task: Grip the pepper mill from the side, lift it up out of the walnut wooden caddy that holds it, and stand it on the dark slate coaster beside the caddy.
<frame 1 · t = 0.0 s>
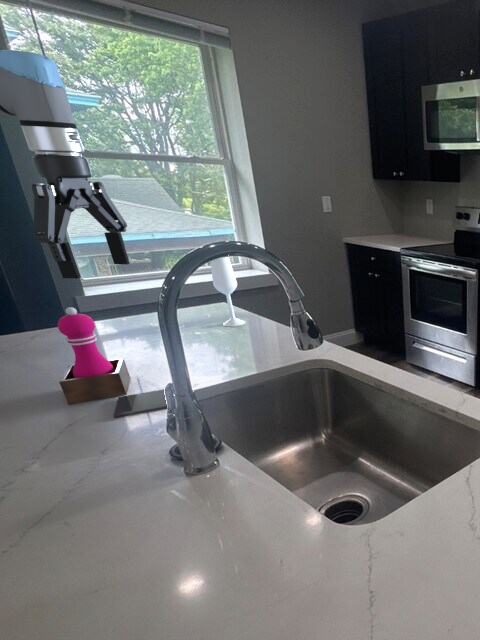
hand: (98, 270, 95), 29 cm above the worktop, tool pointing down, fingers open, 13 cm apart
pepper mill: (101, 391, 109), resting in mill caddy
champagne flute: (234, 323, 156), on the worktop
slate coaster: (145, 403, 104), on the worktop
mill caddy: (101, 390, 109), on the worktop
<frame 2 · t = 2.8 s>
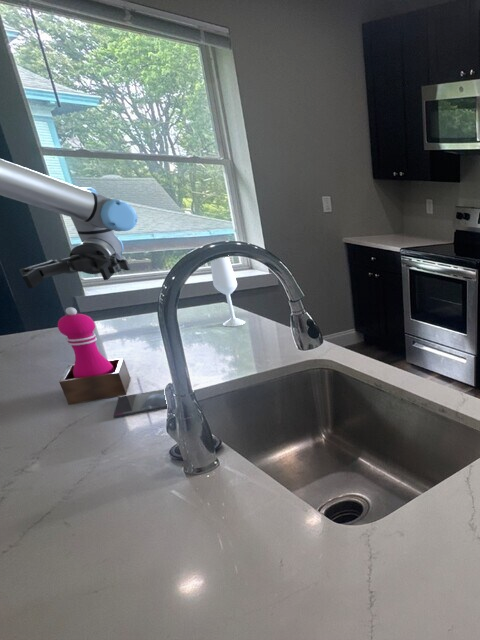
hand: (66, 278, 105), 24 cm above the worktop, tool horizontal, fingers open, 13 cm apart
nothing on the worktop moved.
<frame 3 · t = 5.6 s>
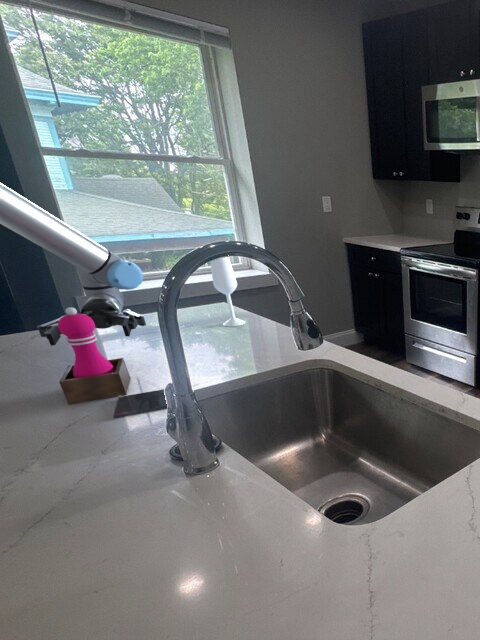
hand: (89, 335, 109), 11 cm above the worktop, tool horizontal, fingers open, 13 cm apart
nothing on the worktop moved.
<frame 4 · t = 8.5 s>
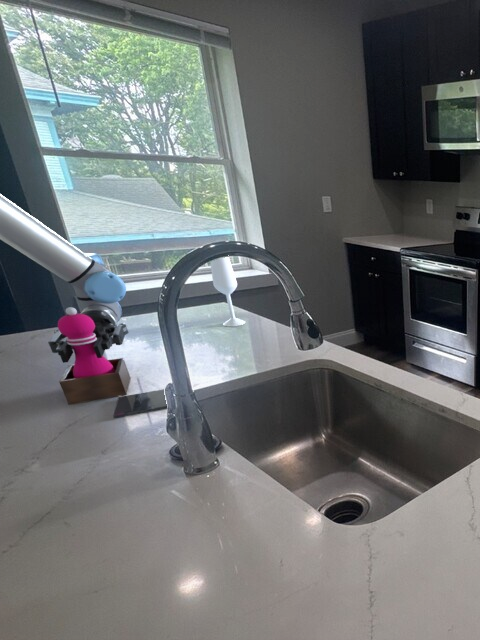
hand: (80, 354, 100), 11 cm above the worktop, tool horizontal, fingers closed on pepper mill, 5 cm apart
pepper mill: (101, 391, 109), resting in mill caddy, touching gripper
everything else where it was.
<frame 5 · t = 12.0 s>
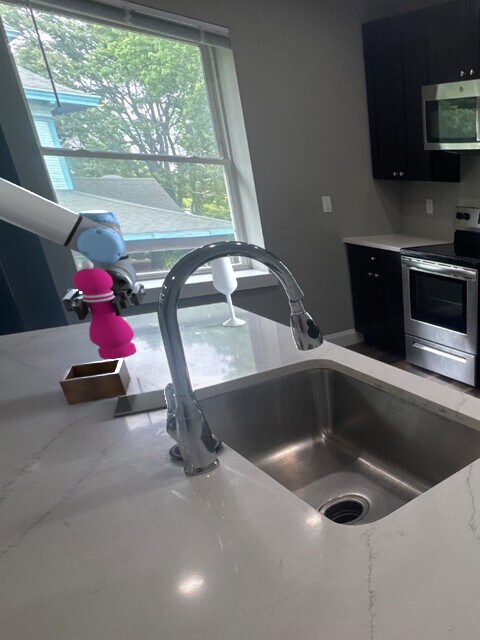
hand: (98, 311, 92), 22 cm above the worktop, tool horizontal, fingers closed on pepper mill, 5 cm apart
pepper mill: (119, 355, 101), point 11 cm above the worktop, touching gripper
everything else where it was.
when the fingers open (12 cm above the worktop, at t = 15.6 s): pepper mill stays where it is, resting on slate coaster.
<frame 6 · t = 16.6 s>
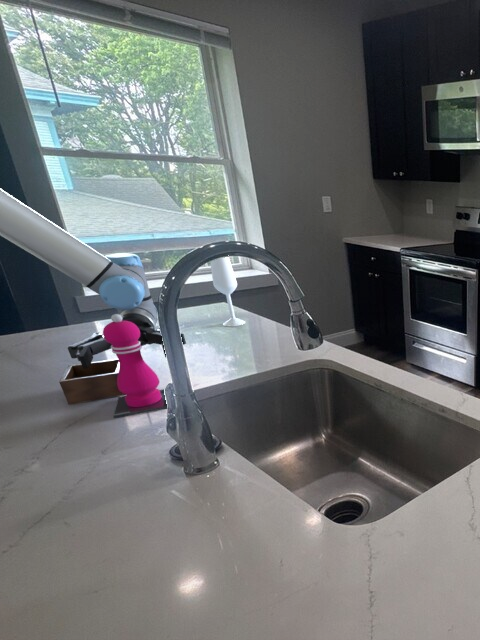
hand: (126, 357, 96), 12 cm above the worktop, tool horizontal, fingers open, 13 cm apart
pepper mill: (145, 401, 104), resting on slate coaster
everything else where it was.
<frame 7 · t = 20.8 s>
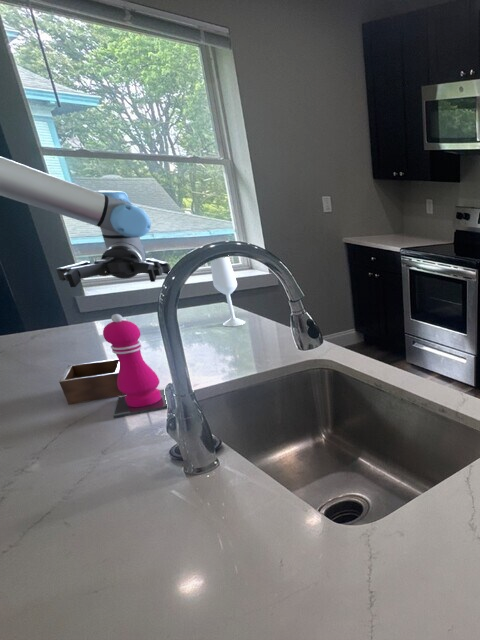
hand: (112, 278, 100), 26 cm above the worktop, tool horizontal, fingers open, 13 cm apart
nothing on the worktop moved.
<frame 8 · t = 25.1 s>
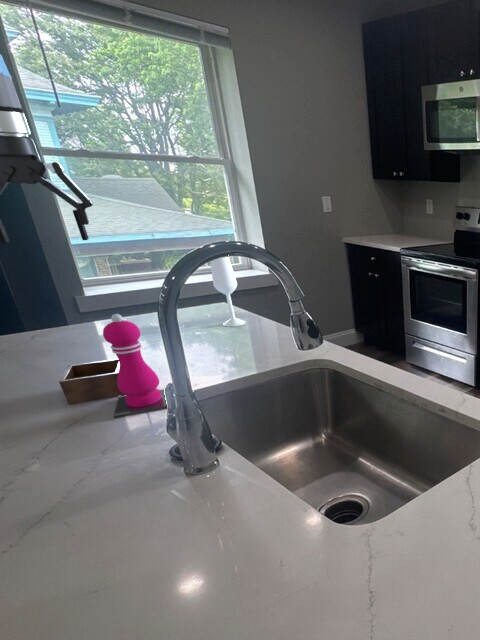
hand: (47, 241, 106), 32 cm above the worktop, tool pointing down, fingers open, 13 cm apart
nothing on the worktop moved.
at the end: pepper mill inside the target area on the slate coaster (0.0 cm from its centre), point 0.4 cm above the slate coaster's base; pepper mill tilted 0°; the gripper is holding nothing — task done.
